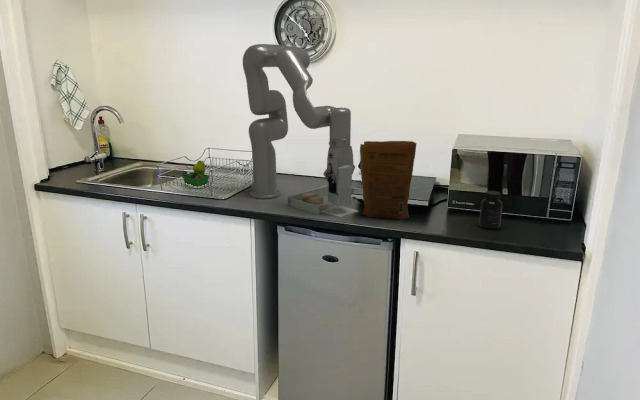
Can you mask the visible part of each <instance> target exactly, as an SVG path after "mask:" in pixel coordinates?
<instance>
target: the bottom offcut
mask: <svg viewBox="0 0 640 400" xmlns="http://www.w3.org/2000/svg"><path fill="white" fill-rule="evenodd" d="M300 201H301V200H300ZM317 206H320V211H322V210H325V209H328V204H327V203H325V202H323V204H320V205H317Z"/></svg>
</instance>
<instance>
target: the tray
mask: <svg viewBox="0 0 640 400" xmlns="http://www.w3.org/2000/svg"><path fill="white" fill-rule="evenodd" d="M361 189H362V188H358V187H354V186H352V189H351V195H352V193H353V192H354V190H361ZM308 193H314V194H316V195H319V196H321V197H323V198H324V197H328V184H326V185H323V186H319V187H315V188H312V189H308V190H305V191H301V192H297V193H293V194H288V195H287V205H288V207H292V208H294V209H298V210H302V211H305V212H307V213H311V214H314V215H320V214H321V212H320V206H317V205H313V204H310V203H307V202H303V201H300V200H301V195H302V194H308Z"/></svg>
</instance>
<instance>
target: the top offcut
mask: <svg viewBox="0 0 640 400" xmlns="http://www.w3.org/2000/svg"><path fill="white" fill-rule="evenodd" d="M301 201H303V202H307V203H310V204H313V205H320V204H323V203H324V197H321V196H319V195H316V194H314V193H308V194H302V195H301Z"/></svg>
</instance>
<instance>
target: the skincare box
mask: <svg viewBox="0 0 640 400" xmlns="http://www.w3.org/2000/svg"><path fill="white" fill-rule="evenodd" d="M332 179H333V176H332ZM352 181H353V174H352V167H351V166H349V165H347V166H343V167H340V168H338V176H336V181H335V183H336V194H333V193H329V182H327V185H328V196H327V202H328V203H330V204H332V205H334V206H337V207H341V206H343V207H346V206H351V205H352V197H351V189H352V187H353V186H352V183H353V182H352Z"/></svg>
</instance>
